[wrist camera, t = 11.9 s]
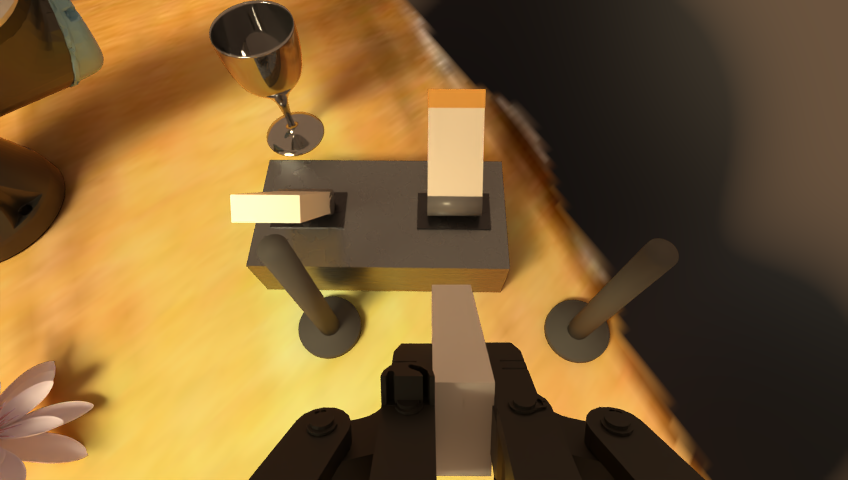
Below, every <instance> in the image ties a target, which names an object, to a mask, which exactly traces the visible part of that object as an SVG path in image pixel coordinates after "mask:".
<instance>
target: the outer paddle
mask: <svg viewBox="0 0 848 480" xmlns="http://www.w3.org/2000/svg"><path fill="white" fill-rule="evenodd" d="M485 95H486V89H428V199H427V216H481V215H482V192H483V151H484V110H485Z"/></svg>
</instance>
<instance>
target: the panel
mask: <svg viewBox="0 0 848 480" xmlns="http://www.w3.org/2000/svg"><path fill="white" fill-rule="evenodd" d="M278 189H333V191H334V195H335V210H334V214H333V215H324V216H321V217H318V218H315V219H312V220H308V221H305V222H302V223H256V225H255V229H254V234H253V238H252V243H251V247H250V252H249V256H248V261H247V265H246V266H247V267H248V268H249V269H250V270H251V271H252V273H253V274H254V275H255V276H256V277H257V278H258V279H259V280H260V281H261V282H262V283H263V284H264V285H265V286H266V288H267V289H284V287H283V286H282V285H281V284H280V283H279V281H278V280H277V279H276V278H275V277H274V275H273V274H272V273H271V272H270V271H269V269H268V268H267V267H266V266H265V265H264V263H263V262H262V261H261V260H260V259H259V257H258V256H257V246H258V244H259V242H260V241H261V240H262V239H263V238H264V237H266V236H268V235H271V234H279V235H282V236H284V237H285V238H286V239H287V241H288V242H289V244H290V245H291V247H292V248H293V250H294V252H295V253H296V255H297V256H298V258H299V259H300V261H301V262H302V264H303V266H304V267H305V269H306V270H307V272H308V273H309V275H310V277H311V278H312V280H313V281H314V283H315V284H316V286H317V287H318V289H319V290H366V291H432V285H471V288H472V292H501V290H502V287H503V285H504V282H505V280H506V277H507V275H508V272H509V270H510V265H509V252H508V239H507V226H506V213H505V200H504V187H503V174H502V162H484V161H483V192H482V215H481V216H427V199H428V161H339V160H270V162H269V166H268V171H267V175H266V180H265V184H264V189H263V192H272V191H277V190H278Z"/></svg>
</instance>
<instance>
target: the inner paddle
mask: <svg viewBox="0 0 848 480" xmlns="http://www.w3.org/2000/svg"><path fill="white" fill-rule="evenodd" d="M230 201H231V220H232V222H240V223H302V222H305V221H308V220H312V219H315V218H318V217H321V216H324V215H333V214H334V210H335V195H334V191H333V189H278V190H277V191H272V192H258V193H245V194H231V195H230Z"/></svg>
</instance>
